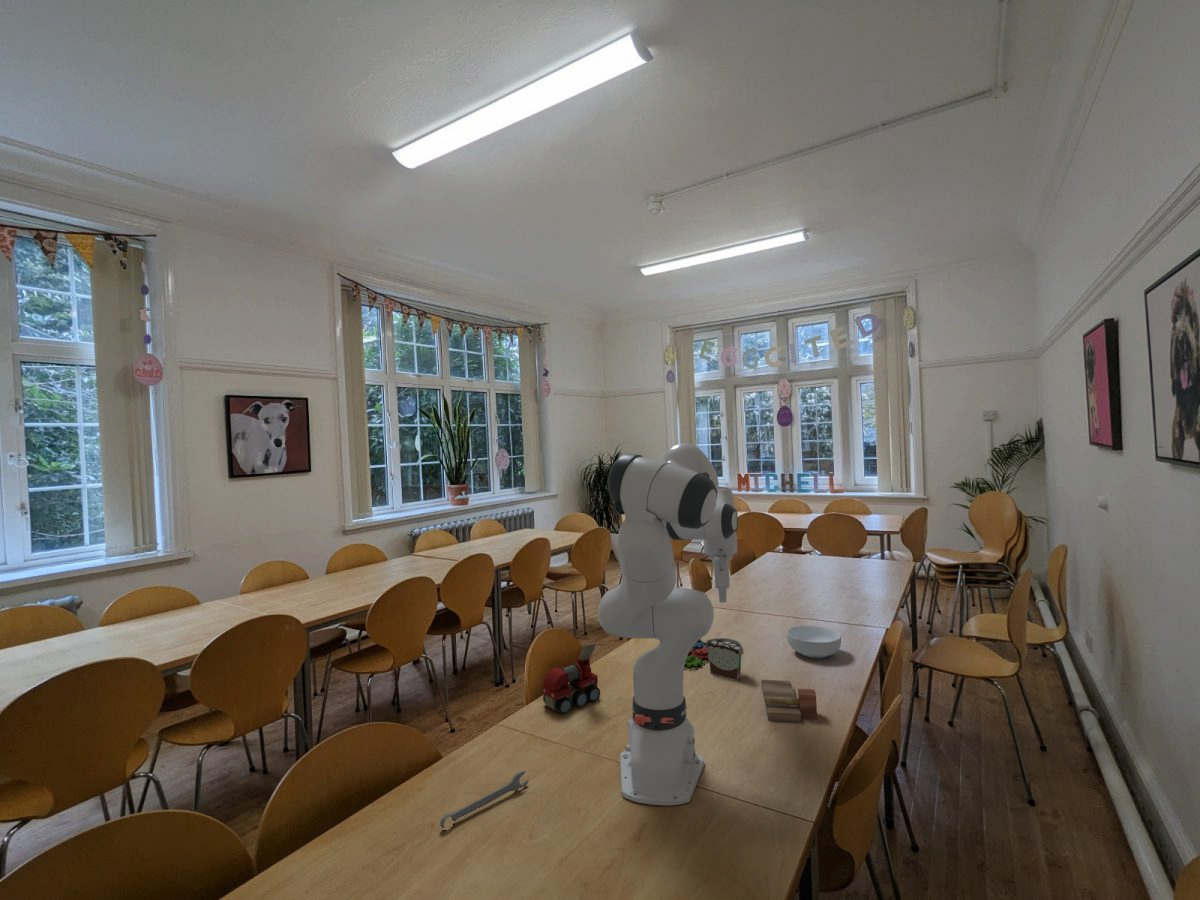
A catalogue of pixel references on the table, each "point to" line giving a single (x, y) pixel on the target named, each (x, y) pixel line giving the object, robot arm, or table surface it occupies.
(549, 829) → the table surface
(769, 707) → the walnut board
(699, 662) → the gear puzzle
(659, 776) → the robot arm
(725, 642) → the food container
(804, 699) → the toy wooden hammer
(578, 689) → the toy fire truck
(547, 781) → the table surface
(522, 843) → the table surface
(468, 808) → the combination wrench
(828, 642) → the cereal bowl
